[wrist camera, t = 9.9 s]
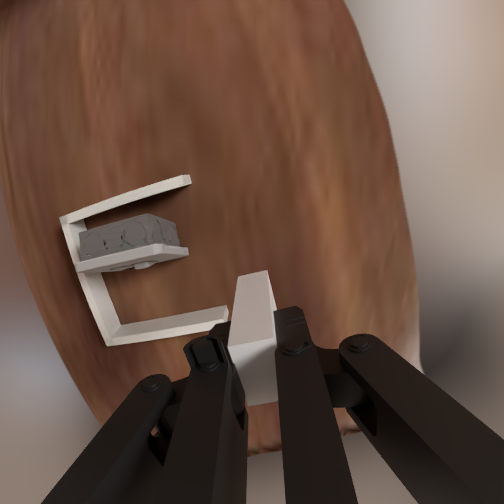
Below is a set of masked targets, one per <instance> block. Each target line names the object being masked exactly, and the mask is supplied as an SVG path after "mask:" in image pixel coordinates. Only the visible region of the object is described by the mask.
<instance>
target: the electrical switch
mask: <svg viewBox="0 0 504 504" xmlns="http://www.w3.org/2000/svg"><path fill="white" fill-rule="evenodd" d="M132 221H134V222H132ZM149 222H150V224H149ZM124 231H125V235H124ZM79 240H80V256H81V262H77V263H75V264H74V266H75V270H76V273H96V272H112V271H121V270H126V269H131V268H135V269H136V270H137V269H142V268H146V267H149V266H151V265H153V264H154V263H158V262H163V261H168V260H172V259H177V258H182V257H185V256H188V255H189V253H188V248H187V247H180V242H179V238H178V235H177V230H176V224H175V223H174V222H171V221H168V220H166V219H163V218H160V217H157V216H155V215H152V214H149V218H148V213H146V214H142V215H139V216H135V217H131V218H128V219H124V220H120V221H117V222H113V223H110V224H106V225H103V226H100V227H96V228H93V229H89V230H86V231H83V232H79Z"/></svg>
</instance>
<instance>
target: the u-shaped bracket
mask: <svg viewBox="0 0 504 504" xmlns="http://www.w3.org/2000/svg"><path fill="white" fill-rule="evenodd" d="M189 184H192V182H191V179H190V175H181V176H177V177H174V178H171V179H167V180H164V181H161V182H158V183H155V184H151V185H148V186H145V187H142V188H139V189H136V190H133V191H130V192H127V193H124V194H121V195H119V196H116V197H113V198H110V199H107V200H104V201H102V202H99V203H96V204H94V205H91V206H88V207H85V208H83V209H80V210H78V211H75V212H72V213H70V214H67V215H65V216H62V217H60V221H61V225H62V228H63V232H64V235H65V238H66V242H67V245H68V248H69V251H70V254H71V257H72V260H73V263H74V264H75V263H77V262H81V256H80V240H79V232H83V231H86V230H87V228H86V225H85V222H84V218H87V217H89V216H92V215H95V214H98V213H101V212H104V211H107V210H109V209H112V208H115V207H118V206H121V205H124V204H127V203H130V202H133V201H136V200H140V199H143V198H146V197H149V196H152V195H155V194H159V193H162V192H165V191H169V190H172V189H175V188H179V187H182V186H186V185H189ZM77 275H78V277H79V280H80V283H81V286H82V288H83V291H84V293H85V296H86V299H87V301H88V304H89V306H90V308H91V311H92V313H93V316H94V318H95V320H96V323H97V325H98V327H99V330H100V332H101V334H102V336H103V339H104V341H105V343H106V345H107V346H114V345H121V344H128V343H135V342H142V341H149V340H155V339H161V338H168V337H174V336H180V335H185V334H191V333H197V332H202V331H208V330H211V329H212V328H213V327H214V325H215V324H218V323H223V322H227V318H228V309H227V306H226V305H224V306H219V307H214V308H210V309H205V310H200V311H195V312H190V313H184V314H179V315H174V316H169V317H164V318H158V319H153V320H147V321H142V322H136V323H130V324H124V325H121V324H120V321H119V319H118V316H117V314H116V311H115V309H114V306H113V304H112V301H111V299H110V296H109V294H108V291H107V288H106V286H105V283H104V280H103V277H102V275H101V272H96V273H77Z"/></svg>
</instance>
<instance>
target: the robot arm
mask: <svg viewBox="0 0 504 504" xmlns="http://www.w3.org/2000/svg"><path fill="white" fill-rule="evenodd" d="M183 350H184V353H185V355H186V357H187V360H188V362H189V365H190V367H191V371H190V374H189V376H188V377H186V378H183V379H180V380H177V381H174V382H171V381H170V379H169V377H167V376H166V375H163V374H155V375H151V376H148V377H146V378H144V379H143V380H141V381H140V382H139V383H138V384H137V385H136V386H135V387H134V389H133V390H132V391H131V392H130V394H129V395H128V396H127V397H126V398H125V400H124V401H123V402H122V403H121V405H120V406H119V407H118V408H117V410H116V411H115V412H114V413H113V414H112V416H111V417H110V418H109V419H108V421H107V422H106V423H105V424H104V426H103V427H102V428H101V429H100V431H99V432H98V433H97V434H96V436H95V437H94V438H93V439H92V440H91V442H90V443H89V444H88V446H87V447H86V448H85V449H84V451H83V452H82V453H81V454H80V455H79V457H78V458H77V459H76V460H75V462H74V463H73V464H72V465H71V467H70V468H69V469H68V470H67V472H66V473H65V474H64V475H63V477H62V478H61V479H60V480H59V482H58V483H57V484H56V485H55V487H54V488H53V489H52V490H51V492H50V493H49V494H48V495H47V497H46V498H45V499H44V500H43V502H42V503H41V504H246V487H247V486H246V485H247V449H248V413H247V410H246V407H245V398H246V400H247V403H248V406H253V405H259V404H265V403H270V402H276V401H278V403H279V416H280V429H281V442H282V455H283V469H284V483H285V498H286V504H358V502H357V497H356V493H355V489H354V485H353V481H352V477H351V473H350V470H349V466H348V462H347V458H346V454H345V451H344V447H343V443H342V439H341V435H340V432H339V428H338V424H337V421H336V417H335V414H334V410H333V408H340V407H345V408H346V411H347V412H348V414H349V415H350V416H351V418H352V419H353V420H354V422H355V423H356V424H357V426H358V427H359V428H360V429H361V431H362V432H363V433H364V435H365V436H366V437H367V439H368V440H369V441H370V442H371V444H372V445H373V446H374V448H375V449H376V450H377V451H378V453H379V454H380V455H381V457H382V458H383V459H384V460H385V462H386V463H387V464H388V466H389V467H390V468H391V469H392V471H393V472H394V473H395V475H396V476H397V477H398V478H399V480H400V481H401V482H402V483H403V485H404V486H405V487H406V489H407V490H408V491H409V492H410V494H411V495H412V496H413V497H414V499H415V500H416V501H417V502H418V504H504V440H503V439H502V438H501V437H500V436H499V435H497V434H496V433H495V432H494V431H493V430H491V429H490V428H489V427H488V426H486V425H485V424H484V423H483V422H482V421H480V420H479V419H478V418H476V417H475V416H474V415H473V414H472V413H471V412H469V411H468V410H467V409H466V408H464V407H463V406H462V405H461V404H459V403H458V402H457V401H456V400H454V399H453V398H452V397H451V396H450V395H448V394H447V393H446V392H445V391H443V390H442V389H441V388H440V387H438V386H437V385H436V384H435V383H433V382H432V381H431V380H430V379H429V378H427V377H426V376H425V375H424V374H422V373H421V372H420V371H419V370H417V369H416V368H415V367H414V366H412V365H411V364H410V363H409V362H407V361H406V360H405V359H404V358H402V357H401V356H400V355H399V354H397V353H396V352H395V351H394V350H392V349H391V348H390V347H389V346H387V345H386V344H385V343H384V342H382V341H381V340H380V339H379V338H377V337H375V336H373V335H370V334H356V335H353V336H349V337H348V338H346V339H344V340H343V341H342V342H341V343H340V344H339V349H324V348H320V347H317V346H316V345H315V344H314V343H313V342H312V339H311V336H310V333H309V329H308V326H307V323H306V320H305V316H304V313H303V310H302V309H300V308H299V307H297V306H293V307H289V308H284V309H280V310H277V309H276V305H275V301H274V297H273V293H272V289H271V285H270V280H269V276H268V272H267V270H265V271H261V272H257V273H252V274H248V275H243V276H239V277H238V281H237V287H236V294H235V300H234V307H233V314H232V320H231V321H228V322H223V323H218V324H215V325H214V327H213V328H212V329H211V330H210V332H209V335H205V336H201V337H198V338H195V339H193V340H191V341H190V342H189V343H187V344H186V345H185V347H184V348H183ZM154 427H155V428H156V429H157V433H156V434H155V435H154V436H152V434H151V431H152V430H153V428H154Z"/></svg>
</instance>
